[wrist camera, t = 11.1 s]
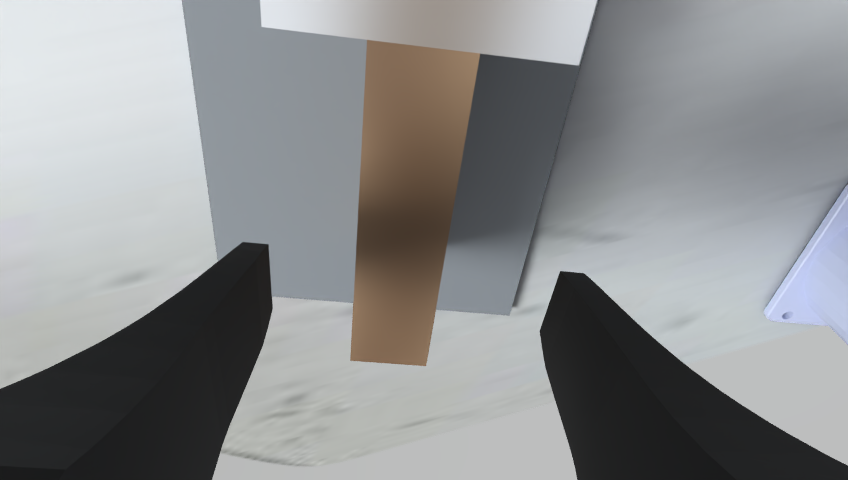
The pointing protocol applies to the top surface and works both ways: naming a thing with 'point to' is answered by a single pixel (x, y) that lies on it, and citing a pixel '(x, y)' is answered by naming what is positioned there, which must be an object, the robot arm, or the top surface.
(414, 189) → the white-capped wooden block
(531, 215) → the mat
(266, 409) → the top surface
